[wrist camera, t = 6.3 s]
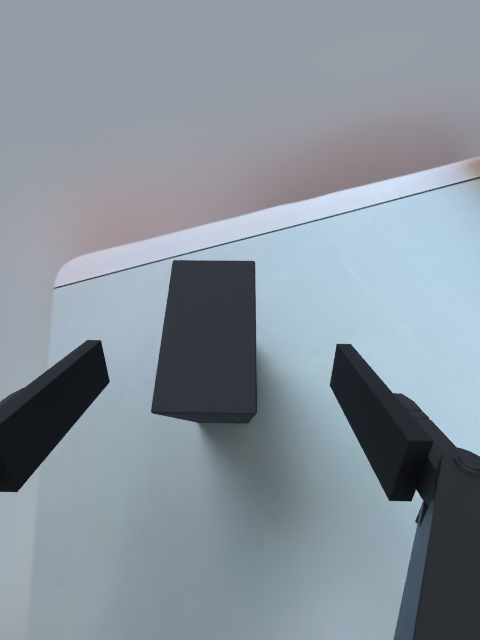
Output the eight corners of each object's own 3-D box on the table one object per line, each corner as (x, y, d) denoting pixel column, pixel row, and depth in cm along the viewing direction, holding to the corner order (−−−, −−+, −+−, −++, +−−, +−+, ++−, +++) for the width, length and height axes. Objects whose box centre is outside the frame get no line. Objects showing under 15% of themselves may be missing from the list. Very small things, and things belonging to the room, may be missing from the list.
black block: (197, 422, 20) (149, 413, 10) (203, 336, 22) (172, 259, 12) (248, 423, 20) (256, 414, 9) (249, 337, 22) (255, 260, 12)
